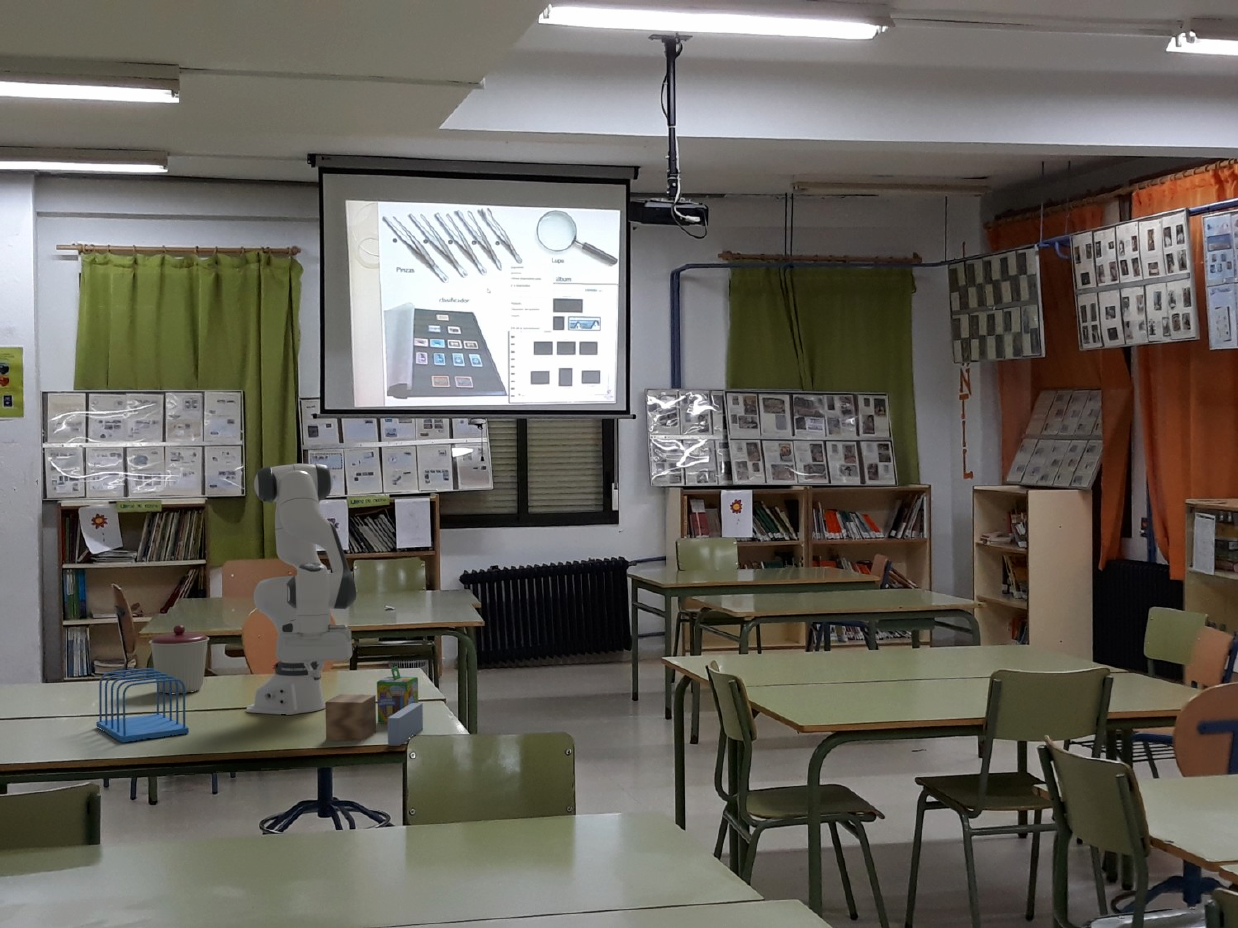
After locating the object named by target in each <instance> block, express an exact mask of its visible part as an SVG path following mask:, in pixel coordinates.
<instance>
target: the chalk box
mask: <svg viewBox="0 0 1238 928" xmlns="http://www.w3.org/2000/svg"><path fill="white" fill-rule="evenodd" d="M390 670H391V675H392V676H387V677H384V678H381V679H379V680H378V681H376V698H377V700H376V705H377V723H378V724H388V717H390V716H392V715H393V714H395V713H396V712H398V711H400V710H401V709H403V708H405V707H406V706H408V705H409V704H411V703H419V678H418V676H417V677H416V676H401V674H400V671H399V667H398V666H397V665H396V666H393V667H392V668H391V669H390ZM395 672H396V674H395Z"/></svg>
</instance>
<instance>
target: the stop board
mask: <svg viewBox="0 0 1238 928" xmlns="http://www.w3.org/2000/svg"><path fill="white" fill-rule="evenodd" d="M423 705H424V703H422V702H418V703H411V704H409V705H408V706H406V707H405V708H403V709H401V710H400V711H398V712H396V713H395V714H393V715H392V716H390V717H388V723H387V746H393V747H394V746H397V747H398V746H401V745H403V744H404V743H405V742H407V741H408V740H409V739H408V738H409V737H411V736H412V735H414V734H415V735H416V734H418V733H419V731H420V732H421V731H422V730H423V729H424V726H423V725H424V720H423V719H424V717H423V716H424V713H423V710H424V709H423V708H424V706H423ZM415 735H414V736H415ZM412 737H413V736H412ZM412 737H411V738H412ZM407 739H408V740H407Z"/></svg>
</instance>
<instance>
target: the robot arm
mask: <svg viewBox="0 0 1238 928" xmlns="http://www.w3.org/2000/svg"><path fill="white" fill-rule="evenodd" d="M333 481H334V480H333V475H332V473H331V471H330V468H329V467H328V466H327V465H326V464H321V463H315V464H311V463H292V464H285V465H284V464H283V465H276V466H270V465H269V466H265V467H261V468H259V469H258V470H257V472H256V476H255V478H254V483H253V485H254V491H255V494H256V495H257V498H258V499H259V500H260V501H261V502H263V503H269V504H272V503H276V505H275V511H274V512H275V513H274V516H275V517H274V528H275V529H274V531H275V544H276V545H275V548H276V555H277V557H278V559H279V560H281V561H282V562H283V563H285V564H287V565H290V566H293V567H294V568H295V569H296V575H288V576H274V577H272V578H271V577H270V578H266V579H263V580H260V581H259V582H258V583H257V585H256V586H255V589H254V592H253V603H254V605H255V607H256V608H257V610H258V612H260V613H261V614H263V615H264V616H266V617H267V618H268V619H269V620H270V621H271V622H272V624H273V625H274V626H275V628H276V631H277V634H278V636H277V638H276V644H275V657H276V658H277V659H278V660H279V661H278V662H276V663H274V664H273V665H272V670H274V673H273V675H272V676H271V677H270V678H268V679H266V680H265V682H263V683H262V684H261V685H259V687H258V688H257V689H256V691H255V696H254V702H253V703H252V704H249V705H248V706H247V707H246V712H247V713H252V714H256V713H257V714H269V715H281V714H286V716H289V715H297V714H302V713H303V714H305V713H311V712H315V711H316V712H317V711H321V710H323V709H325V702H326V701H325V698H324V693H323V687H322V682H321V681H322V680H321V679H322V673H323V672H322V671H323V668H324V666H325V665H326V661H348V660H350V659H351V658H352V656H353V647H352V646H353V645H352V629H351V628H350V627H349V626H347V625H346V624H331V623H332V621H331V615H332V614H331V610H332V609H334V610H346V609H348V608H349V607H350V606H352V604H354V602H355V601H356V600H357V584H356V582H355V578H354V576H353V574H352V572H351V569H350V566H349V563H348V560H347V557H346V555H345V551H344V549H343V546H342V545H343V544H342V542H341V539H340V537H339V533H338V531H337V529H336V526H335V525H334V523H333V522H332V521H330V520H329V519H327V518H326V517H325V516H324V514H323V513H322V511H321V509H320V502H321V501H323V500H324V499H327V497H328V496H329V495H330V494H331V491H332V488H333V485H334V482H333ZM316 545H317V546H319V547H321V548H322V549H324V551H325V552H326V555H327V558H328V561H329V562H328V563H329V564H330V568H331V570H332V572H330V571H329V570H328V568H327V565H325V564H323V563H322V561H321V560H320V557H319V556H318V552H317V546H316Z"/></svg>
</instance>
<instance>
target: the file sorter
mask: <svg viewBox="0 0 1238 928" xmlns="http://www.w3.org/2000/svg"><path fill="white" fill-rule="evenodd" d="M155 673H156V674H155ZM158 673H159V674H158ZM112 674H113V675H112ZM108 675H111V676H109V677H108V678H107V680H105V684H104V720H102V719H103V716H102V715H103V714H102V713H103V708H102V706H103V705H102V704H103V702H102V696H103V694H102V688H103V685H102V684H103V679H104V678H105V677H107V676H108ZM155 676H157V677H155ZM159 676H162V677H159ZM114 678H116V679H115V680H113V682H112V683H111V686H110V719H108V685H109V681H111V679H114ZM165 678H168V679H167V680H165ZM156 679H157V681H156ZM159 679H163V680H159ZM122 680H124V681H122ZM119 681H122V682H121V683H120V684H118V686H117V688H116V694H115V695H116V718H114V688H115V687H114V686H115V684H116V683H118V682H119ZM168 681H169V694H168V695H169V699H168V700H169V717H168V716H166V694H165V682H168ZM171 681H175V684H176V694H175V720H174V719H173V708H172V706H173V699H172V698H173V697H172V696H173V694H172V682H171ZM177 681H179V682H180V683H181V684H182V687H183V694H182V724H181V723H180V722H179V694H178V682H177ZM159 682H163V693H162V713H160V691H159ZM127 683H130V684H128V685H127V686H126V687H125V688H124V690H123V692H122V718H120V689H121V687H122V686H123V685H124V684H127ZM155 683H156V713H155V714H146V715H139V716H131V717H126V692H127V690H128V688H130V687H132V686H140V685H147V684H155ZM98 685H99V687H98V688H99V689H98V690H99V691H98V694H99V701H98V702H99V703H98V704H99V720H97V721H96V724H95V726H97V727H99V728H101V729H102V730H104V731H105V732H106V733H105V732H104V731H103V732H104V733H105V734H107V733H109V734H110V735H111V737H112V738H114V739H115V738H116V740H117V741H119V742H120V743H130V742H129V741H132V742H135V741H134V740H137V741H141V740H140V739H143V740H147V739H146V738H151V739H156V738H157V739H158V738H164V736H165V737H171V736H170V735H172V736H174V735H176V736H179V735H178V734H183V735H186V734H185V733H188V734H189V733H190V731H189V727H188V726H186V693H185V685H184V683H183V682H182V681H181V680H179V679H175V678H174V677H171V676H168V675H167V674H164V673H161V672H159V671H156V670H154V668H153V667H152V668H151V667H148V668H136V669H127V670H118V671H109V672H108V671H107V672H105V673H104V674H103V675H102V676H101V677H100V678H99V684H98ZM97 727H96V728H97ZM99 728H98V729H99ZM102 730H101V731H102ZM109 734H108V735H109ZM110 735H109V736H110Z"/></svg>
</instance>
